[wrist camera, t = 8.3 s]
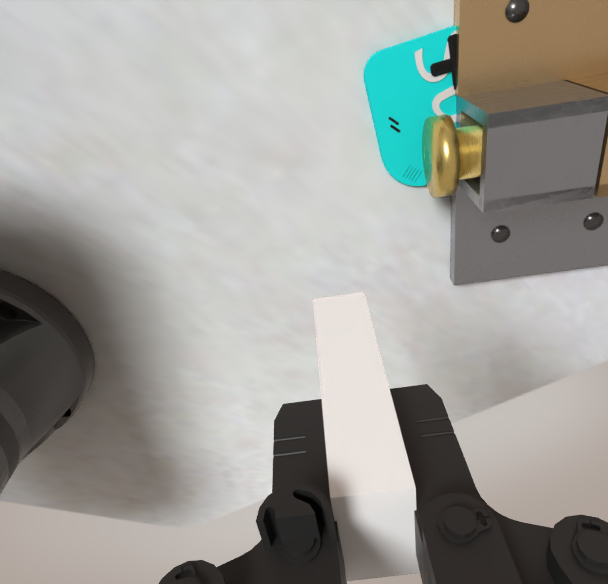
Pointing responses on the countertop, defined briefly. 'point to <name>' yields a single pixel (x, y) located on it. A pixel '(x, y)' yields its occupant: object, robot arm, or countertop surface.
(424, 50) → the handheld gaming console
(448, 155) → the pin
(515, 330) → the countertop surface
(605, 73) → the sliding bolt latch
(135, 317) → the countertop surface
